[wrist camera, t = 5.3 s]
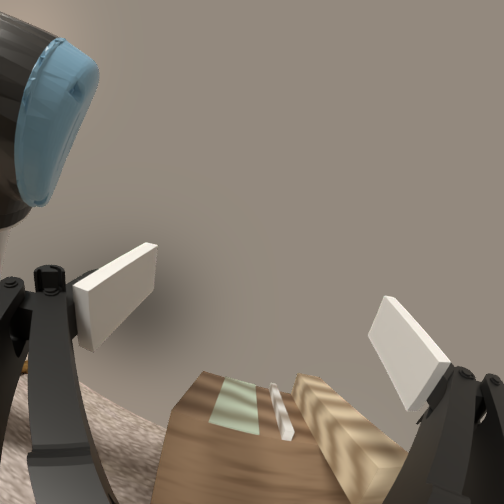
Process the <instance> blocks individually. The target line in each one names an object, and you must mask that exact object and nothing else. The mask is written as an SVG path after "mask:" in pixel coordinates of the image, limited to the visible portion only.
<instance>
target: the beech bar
mask: <svg viewBox="0 0 504 504" xmlns="http://www.w3.org/2000/svg"><path fill="white" fill-rule="evenodd" d="M291 395H292V397H293V399H294V401H295V403H296V404H297V406H298V408H299V410H300V412H301V414H302V416H303V418H304V420H305V422H306V423H307V425H308V427H309V429H310V431H311V433H312V435H313V436H314V438H315V440H316V442H317V444H318V446H319V448H320V449H321V451H322V453H323V455H324V457H325V458H326V460H327V462H328V464H329V466H330V467H331V469H332V471H333V473H334V475H335V476H336V478H337V480H338V482H339V483H340V485H341V487H342V489H343V490H344V492H345V494H346V496H347V497H348V499H349V501H350V503H351V504H382V503H383V501H384V499H385V498H386V496H387V494H388V493H389V491H390V489H391V487H392V485H393V484H394V482H395V480H396V478H397V476H398V474H399V472H400V470H401V468H402V466H403V464H404V462H405V460H406V458H407V456H408V452H407V451H405V450H404V449H403V448H402V447H400V446H399V445H398V444H397V443H395V442H394V441H393V440H392V439H390V438H389V437H388V436H387V435H386V434H384V433H383V432H382V431H381V430H379V429H378V428H377V427H376V426H374V425H373V424H372V423H371V422H370V421H368V419H366V418H365V417H364V416H363V415H362V414H360V413H359V412H358V411H357V410H356V409H354V408H353V407H352V406H351V405H350V404H349V403H348V402H347V401H345V400H344V399H343V398H342V397H341V396H340V395H338V394H337V393H336V392H335V391H334V390H333V389H332V388H331V387H330V386H328V385H327V384H326V383H325V382H324V381H323V380H322V379H321V378H320V377H315V376H310V375H305V374H300V373H298V374H297V377H296V380H295V383H294V386H293V389H292V392H291Z"/></svg>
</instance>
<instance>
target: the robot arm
mask: <svg viewBox="0 0 504 504" xmlns="http://www.w3.org/2000/svg"><path fill="white" fill-rule="evenodd" d="M98 83H99V69H98V67H97V64H96V63H95V61H94V60H92V59H91V58H90V57H89V56H87V55H86V54H84V53H83V52H82V51H80V50H79V49H77V48H76V47H74V46H73V45H72V44H70V43H69V42H68V41H67V40H66V39H65V38H60V37H58V36H56V35H53V34H51V33H49V32H47V31H45V30H42V29H40V28H38V27H36V26H33V25H31V24H29V23H26V22H24V21H21V20H19V19H17V18H15V17H12V16H10V15H7V14H5V13H2V12H0V279H1V273H2V266H3V261H4V255H5V250H6V246H7V241H8V237H9V233H10V229H11V228H13V227H15V226H17V225H18V224H19V223H21V222H22V221H23V220H24V219H25V218H26V217H27V216H28V214H29V213H30V210H31V208H32V207H36V206H37V207H43V206H45V205H46V204H47V203H48V202H49V200H50V198H51V196H52V194H53V191H54V189H55V186H56V184H57V182H58V179H59V177H60V174H61V171H62V168H63V166H64V163H65V161H66V158H67V156H68V154H69V152H70V149H71V147H72V144H73V142H74V140H75V138H76V135H77V133H78V131H79V128H80V126H81V124H82V121H83V119H84V117H85V115H86V112H87V110H88V108H89V106H90V103H91V101H92V99H93V96H94V94H95V92H96V89H97V86H98ZM157 249H158V245H155V244H151V243H144V244H142V245H140V246H138V247H137V248H135V249H133V250H131V251H129V252H128V253H126V254H124V255H122V256H121V257H119V258H117V259H115V260H114V261H112V262H110V263H109V264H107V265H105V266H104V267H102V268H100V269H95V270H91V271H88V272H86V273H84V274H83V275H82V276H79V277H78V278H77V279H74V280H73V281H71V282H69V283H68V284H65V271H64V269H63V268H62V267H60V266H57V265H44V266H40V267H38V268H37V269H35V270H34V281H35V290H36V293H34V292H29V291H25V286H24V281H23V280H22V279H20V278H17V277H6V278H5V279H3V280H1V281H0V462H1V454H2V447H3V441H4V436H5V430H6V426H7V421H8V416H9V412H10V408H11V404H12V401H13V397H14V393H15V390H16V387H17V383H18V380H19V377H20V374H21V371H22V368H23V365H24V362H25V360H26V357H27V354H28V408H29V421H30V431H31V439H32V448H33V450H32V452H30V453H28V455H27V465H28V471H29V476H30V480H31V485H32V489H33V493H34V497H35V500H36V504H119V503H118V501H117V499H116V497H115V495H114V493H113V491H112V489H111V486H110V484H109V482H108V479H107V477H106V474H105V472H104V469H103V467H102V464H101V461H100V459H99V456H98V453H97V450H96V447H95V444H94V441H93V438H92V434H91V431H90V427H89V424H88V420H87V417H86V413H85V409H84V405H83V400H82V396H81V391H80V386H79V381H78V376H77V370H76V364H75V357H74V350H73V343H72V339H73V338H74V337H75V336H76V335H77V336H78V342H79V346H80V347H82V348H85V349H86V350H89V351H91V352H93V353H94V352H95V351H96V350H97V349H98V348H99V346H100V345H101V344H102V343H103V342H104V341H105V340H106V339H107V338H108V337H109V336H110V334H112V332H114V330H115V329H116V328H117V327H118V326H119V325H120V324H121V323H122V322H123V321H124V320H125V319H126V318H127V317H128V316H129V315H130V314H131V313H132V312H133V311H134V310H135V309H136V308H137V307H138V305H139V304H140V303H141V302H142V301H143V300H144V299H145V298H146V297H147V296H148V295H149V294H150V293H151V292H152V291H153V290H154V280H155V268H156V259H157ZM368 337H369V339H370V341H371V343H372V344H373V346H374V348H375V350H376V352H377V354H378V356H379V358H380V359H381V361H382V363H383V365H384V367H385V369H386V371H387V373H388V375H389V377H390V379H391V381H392V382H393V385H394V386H395V388H396V391H397V393H398V395H399V397H400V399H401V401H402V403H403V405H404V407H405V409H406V411H419V410H420V409H421V408H422V406H423V405H424V403H425V402H426V401H427V402H428V404H429V408H428V409H427V410H426V411H425V413H424V414H423V415H422V417H421V418H420V419H419V420H418V422H417V423H416V424H419V423H420V422H421V424H420V427H419V429H418V432H417V435H416V437H415V439H414V442H413V444H412V447H411V449H410V451H409V453H408V456H407V458H406V460H405V462H404V464H403V466H402V468H401V470H400V472H399V474H398V476H397V478H396V480H395V482H394V484H393V485H392V487H391V489H390V491H389V493H388V494H387V496H386V498H385V499H384V501H383V503H382V504H504V384H503V382H502V381H501V380H500V378H499V377H498V376H497V375H493V374H486V376H485V377H484V379H483V381H482V382H479V381H476V379H475V376H474V374H473V373H472V372H471V371H470V370H468V369H466V368H464V367H459V366H457V367H454V366H453V365H452V363H451V362H450V360H449V359H448V358H447V357H446V355H445V354H444V353H443V352H442V351H441V349H440V348H439V347H438V346H437V345H436V344H435V342H434V341H433V340H432V339H431V338H430V336H429V335H428V334H427V333H426V332H425V331H424V330H423V328H422V327H421V326H420V325H419V324H418V323H417V322H416V320H415V319H413V317H412V316H411V315H410V314H409V313H408V312H407V310H405V308H404V307H403V306H402V305H401V304H400V303H399V302H398V301H397V300H396V299H395V298H394V297H389V296H384V297H383V300H382V302H381V305H380V307H379V310H378V313H377V315H376V317H375V320H374V322H373V325H372V327H371V329H370V331H369V334H368ZM28 352H29V353H28ZM486 412H487V414H486V417H485V419H484V420H483V421H482V423H480V419H481V418H482V417H483V416H484V414H485V413H486Z"/></svg>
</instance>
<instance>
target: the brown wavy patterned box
mask: <svg viewBox="0 0 504 504" xmlns="http://www.w3.org/2000/svg"><path fill="white" fill-rule="evenodd" d="M151 504H351V503H350V501H349V499H348V497H347V496H346V494H345V492H344V490H343V489H342V487H341V485H340V483H339V482H338V480H337V478H336V476H335V475H334V473H333V471H332V469H331V467H330V466H329V464H328V462H327V460H326V458H325V457H324V455H323V453H322V451H321V449H320V448H319V446H318V444H317V442H316V440H315V438H314V436H313V435H312V433H311V431H310V429H309V427H308V425H307V423H306V422H305V420H304V418H303V416H302V414H301V412H300V410H299V408H298V406H297V404H296V403H295V401H294V399H293V397H292V395H291V394H289V393H284V392H280V391H279V390H278V388H277V385H276V384H274V383H270V386H269V389H266V388H262V387H258V386H255V384H250V383H246V382H243V381H239V380H235V379H232V378H229V377H225V378H224V377H221V376H218V375H214V374H211V373H208V372H205V371H203V372H202V373H201V374H200V376H199V377H198V378H197V380H196V381H195V382H194V383H193V384H192V386H191V387H190V388H189V389H188V391H187V392H186V393H185V394H184V395H183V397H182V398H181V399H180V401H179V402H178V403H177V404H176V405H175V406H174V408H173V409H172V411H171V415H170V418H169V423H168V427H167V431H166V435H165V439H164V443H163V448H162V452H161V457H160V461H159V466H158V470H157V475H156V479H155V484H154V489H153V494H152V499H151Z"/></svg>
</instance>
